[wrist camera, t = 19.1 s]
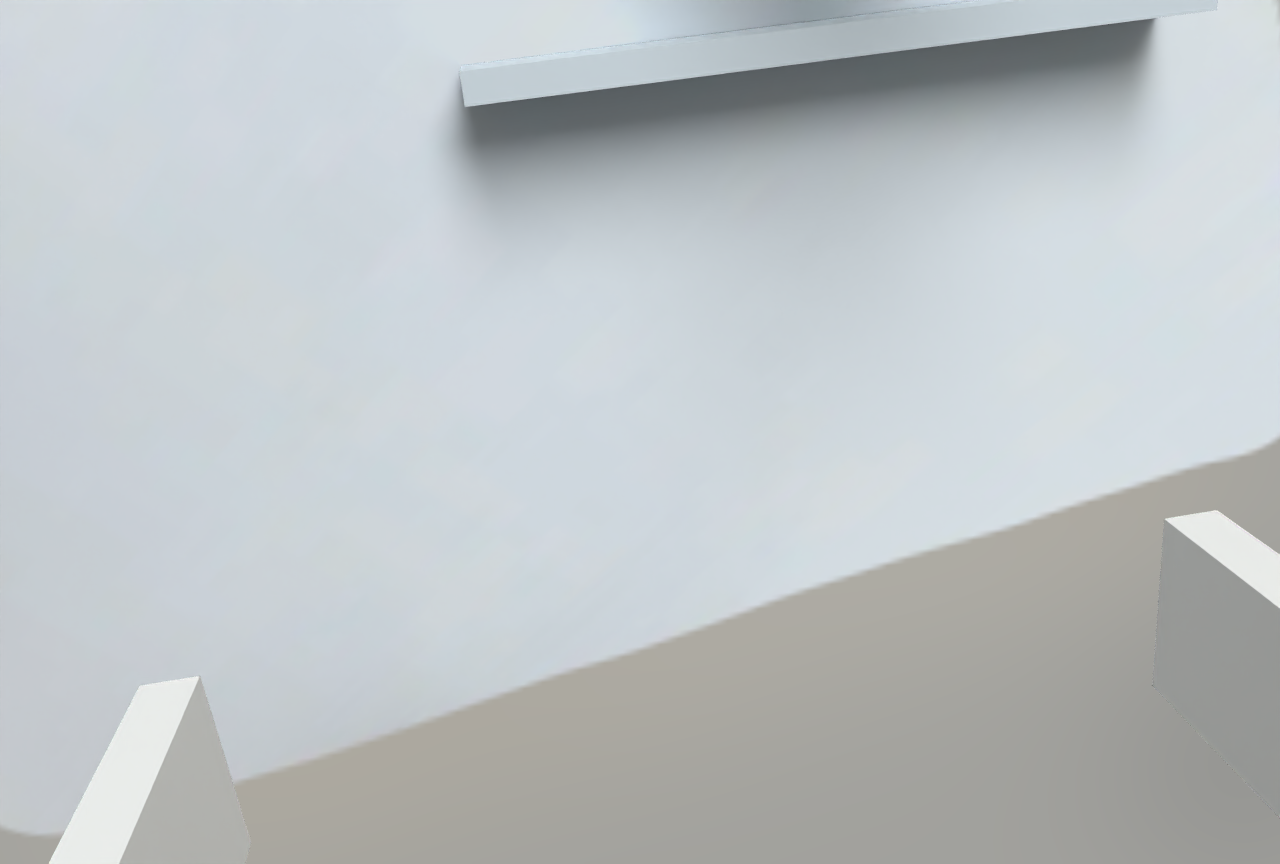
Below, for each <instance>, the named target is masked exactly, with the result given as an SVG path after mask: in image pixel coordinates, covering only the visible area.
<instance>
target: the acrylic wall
mask: <svg viewBox="0 0 1280 864" xmlns="http://www.w3.org/2000/svg"><path fill="white" fill-rule="evenodd" d="M1217 3H1218V0H975V1H967V2H960V3H952V4H944V5H936V6H928V7H920V8H912V9H904V10H896V11H888V12H880V13H872V14H864V15H856V16H849V17H841V18H833V19H825V20H817V21H809V22H801V23H793V24H785V25H777V26H769V27H761V28H753V29H745V30H738V31H730V32H722V33H714V34H706V35H698V36H690V37H682V38H674V39H666V40H658V41H650V42H642V43H634V44H627V45H619V46H611V47H603V48H595V49H587V50H579V51H571V52H563V53H555V54H547V55H539V56H531V57H523V58H516V59H508V60H500V61H492V62H484V63H476V64H468V65H462V66H461V68H460V71H459V74H460V80H461V86H462V92H463V98H464V104H465V107H469V106H477V105H484V104H492V103H500V102H508V101H515V100H523V99H531V98H539V97H546V96H554V95H562V94H570V93H577V92H585V91H593V90H601V89H608V88H616V87H624V86H632V85H640V84H647V83H655V82H663V81H671V80H678V79H686V78H694V77H702V76H709V75H717V74H725V73H733V72H740V71H748V70H756V69H764V68H771V67H779V66H787V65H795V64H803V63H810V62H818V61H826V60H834V59H841V58H849V57H857V56H865V55H872V54H880V53H888V52H896V51H903V50H911V49H919V48H927V47H934V46H942V45H950V44H958V43H966V42H973V41H981V40H989V39H997V38H1004V37H1012V36H1020V35H1028V34H1035V33H1043V32H1051V31H1059V30H1066V29H1074V28H1082V27H1090V26H1097V25H1105V24H1113V23H1121V22H1129V21H1136V20H1144V19H1152V18H1160V17H1167V16H1175V15H1183V14H1191V13H1198V12H1206V11H1214V10H1217Z"/></svg>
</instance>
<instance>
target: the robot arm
mask: <svg viewBox="0 0 1280 864" xmlns="http://www.w3.org/2000/svg"><path fill="white" fill-rule="evenodd" d="M1155 643H1156V644H1155V657H1154V671H1153V685H1152V686H1153V687H1154V688H1155V689H1156V690H1157V691H1158V692H1159V693H1160V694H1161V695H1162V696H1163V697H1164V698H1165V699H1166V701H1167V702H1168V703H1170V705H1171V706H1172V707H1173V708H1174V709H1175V710H1176V711H1177V712H1178V713H1179V714H1180V715H1181V716H1182V717H1183V718H1184V719H1185V720H1186V721H1187V722H1188V723H1189V724H1190V726H1191V727H1192V728H1193V729H1194V730H1195V731H1196V732H1197V733H1198V734H1199V735H1200V736H1201V737H1202V738H1203V739H1204V740H1205V741H1206V742H1207V743H1208V744H1209V745H1210V746H1211V747H1212V748H1213V749H1214V750H1215V752H1216V753H1217V754H1218V755H1219V756H1220V757H1221V758H1222V759H1223V760H1224V761H1225V762H1226V763H1227V764H1228V765H1229V766H1230V767H1231V768H1232V769H1233V770H1234V771H1235V772H1236V773H1237V774H1238V775H1239V776H1240V778H1241V779H1242V780H1243V781H1244V782H1245V783H1246V784H1247V785H1248V786H1249V787H1250V788H1251V789H1252V790H1253V791H1254V792H1255V793H1256V794H1257V795H1258V796H1259V797H1260V798H1261V799H1262V800H1263V801H1264V803H1265V804H1267V806H1268V807H1269V808H1270V809H1271V810H1272V811H1273V812H1274V813H1275V814H1276V815H1277V816H1278V817H1279V818H1280V555H1279V554H1278V553H1276V552H1275V551H1274V550H1272V549H1271V548H1269V547H1268V546H1267V545H1265V544H1264V543H1262V542H1261V541H1259V540H1258V539H1257V538H1255V537H1254V536H1252V535H1251V534H1250V533H1248V532H1247V531H1245V530H1244V529H1242V528H1241V527H1240V526H1238V525H1237V524H1235V523H1234V522H1233V521H1231V520H1230V519H1228V518H1227V517H1225V516H1224V515H1223V514H1221V513H1220V512H1218V511H1217V510H1216V511H1210V512H1203V513H1198V514H1192V515H1185V516H1179V517H1173V518H1167V519H1164V529H1163V543H1162V557H1161V571H1160V585H1159V600H1158V614H1157V629H1156V642H1155ZM250 846H251V840H250V837H249V833H248V830H247V827H246V824H245V820H244V817H243V814H242V811H241V807H240V804H239V801H238V798H237V794H236V791H235V788H234V785H233V781H232V778H231V775H230V772H229V768H228V765H227V762H226V759H225V755H224V752H223V749H222V746H221V742H220V739H219V736H218V733H217V730H216V726H215V723H214V720H213V717H212V713H211V710H210V707H209V704H208V700H207V697H206V694H205V691H204V687H203V684H202V681H201V678H200V676H196V677H190V678H183V679H177V680H171V681H165V682H159V683H153V684H147V685H140V686H139V688H138V690H137V692H136V694H135V696H134V698H133V700H132V702H131V704H130V706H129V708H128V710H127V712H126V713H125V715H124V717H123V719H122V721H121V723H120V725H119V727H118V729H117V731H116V733H115V735H114V737H113V739H112V741H111V743H110V745H109V747H108V749H107V751H106V753H105V754H104V756H103V758H102V760H101V762H100V764H99V766H98V768H97V770H96V772H95V774H94V776H93V778H92V780H91V782H90V784H89V786H88V788H87V790H86V792H85V794H84V795H83V797H82V799H81V801H80V803H79V805H78V807H77V809H76V811H75V813H74V815H73V817H72V819H71V821H70V823H69V825H68V827H67V829H66V831H65V833H64V835H63V837H62V838H61V840H60V842H59V844H58V846H57V848H56V850H55V852H54V854H53V856H52V858H51V860H50V862H49V864H245V863H246V860H247V856H248V852H249V849H250Z"/></svg>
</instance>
